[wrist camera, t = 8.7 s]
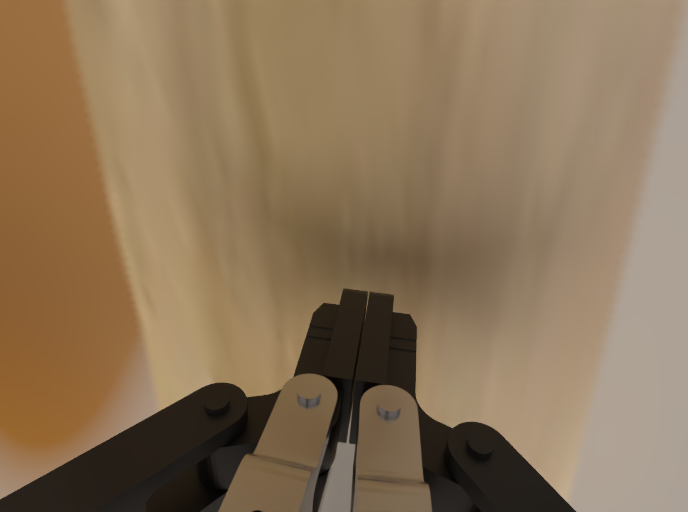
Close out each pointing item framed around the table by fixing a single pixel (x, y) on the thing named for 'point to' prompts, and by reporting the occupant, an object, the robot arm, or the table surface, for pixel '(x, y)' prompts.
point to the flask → (340, 478)
